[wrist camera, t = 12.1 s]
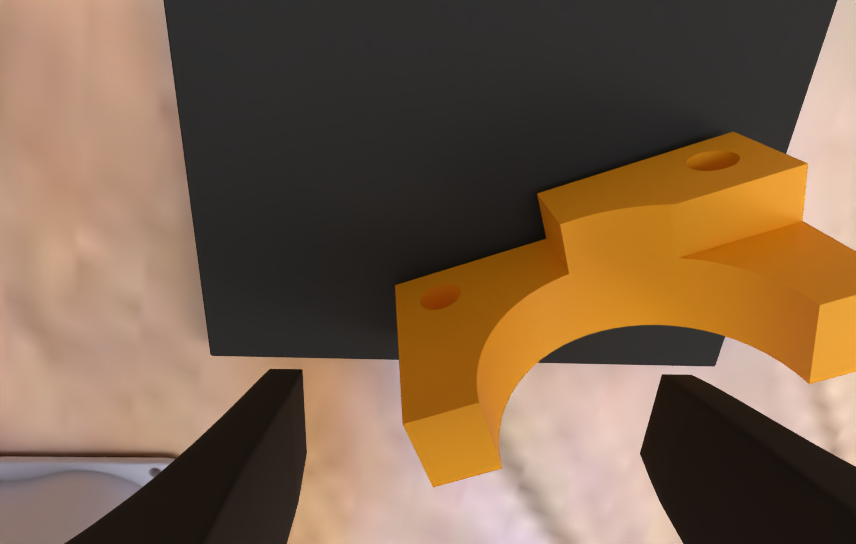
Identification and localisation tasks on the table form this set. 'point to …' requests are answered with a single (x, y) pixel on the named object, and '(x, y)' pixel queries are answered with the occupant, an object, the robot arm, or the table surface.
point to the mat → (445, 143)
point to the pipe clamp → (625, 288)
